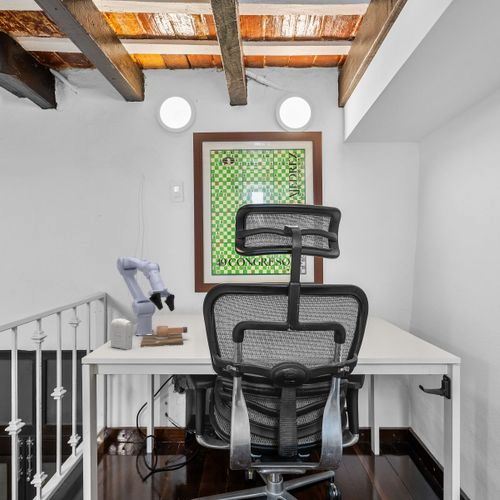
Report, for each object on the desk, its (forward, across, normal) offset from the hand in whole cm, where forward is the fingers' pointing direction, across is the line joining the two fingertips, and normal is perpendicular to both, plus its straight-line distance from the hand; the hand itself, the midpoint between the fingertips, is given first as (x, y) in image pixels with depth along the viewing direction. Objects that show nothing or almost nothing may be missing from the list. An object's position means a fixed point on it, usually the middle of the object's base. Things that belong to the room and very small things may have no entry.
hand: (167, 309), depth 176 cm
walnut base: (+10, +2, +11) cm, 15 cm away
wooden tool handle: (+9, +5, +6) cm, 12 cm away
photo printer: (+9, -14, +18) cm, 25 cm away
